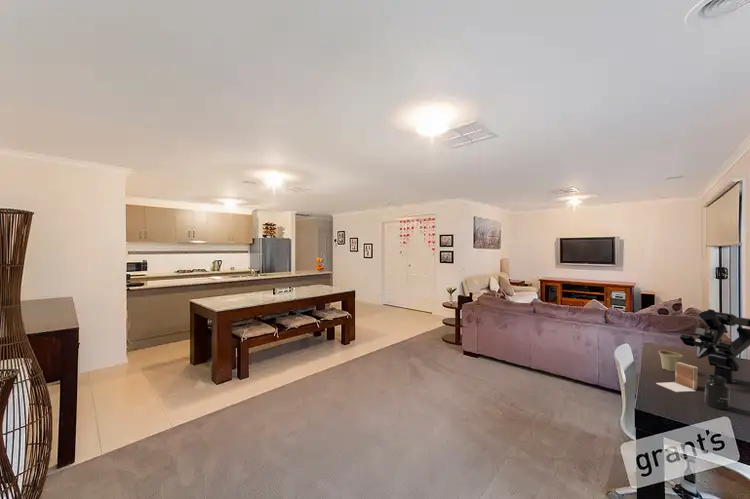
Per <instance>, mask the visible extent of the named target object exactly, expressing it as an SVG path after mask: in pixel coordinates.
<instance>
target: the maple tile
mask: <svg viewBox="0 0 750 499" xmlns="http://www.w3.org/2000/svg"><path fill="white" fill-rule="evenodd" d="M698 370H699V368H698V367H697V366H694V365H690V364H687V363H684V362H681V361H680V362H676V369H675V372H674V374H675V375H674V379H675V380H674V382H675V383H678V384H680V385H683V386H685V387H688V388H690V389H693V390H697V389H698V373H699V372H698Z"/></svg>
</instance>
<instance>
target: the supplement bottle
mask: <svg viewBox="0 0 750 499" xmlns="http://www.w3.org/2000/svg"><path fill="white" fill-rule="evenodd" d="M727 384H728V383H727V382H726V378H724V377H721V376H717V375H714V374H709V375H708V380H707V381H705V383H704V404H706V405H707V406H709V407H711V408H714V409H717V410H722V411H727V410H729V409H730V394H731V393H730V391H731V388H730V387H729V386H728V385H727Z"/></svg>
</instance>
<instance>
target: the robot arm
mask: <svg viewBox="0 0 750 499" xmlns="http://www.w3.org/2000/svg"><path fill="white" fill-rule="evenodd" d="M698 316H699V318H700V320H701V321H702V323H703V325H705V326H706V327H707V328H706V329H705V328H701V327H695V330H694V333H693V334H694V335H696V337H697V338H694V336H693V335H690V334H685V333H682V334H681V335H680V336H679V339H680V340H681V341H682V343H683V344H684V345H685V346H688V347H696V357H697V359H699V360H700V359H702V358H705V357H707V358H708V363H709V366H713V367H714V370H713V371H714V373H713V375H717V376H721V377H724V378H726V382H727V383H726V384H734V383H735V384H736V383H737V384H738V382H737V381H736V380H734V372H739V369H740V365H739V364H738V363H737V361H736V357H738V356H739V355H740V354H741V353H742V352H744V351H745V350H746V349H747V348H749V347H750V318H746V317H737V315H735V314H733V313H725V312H720V311H716V310H715V309H708V310H704V311H702V312H700V313H699V314H698ZM736 325H738V326H737V328H736V331H737V334H738V337H736V339H735V340H733V341H732V342H731V343H728V342H722V341H723V339H722V337H723V336H724V334H728V333H729V332H728V329H727V326H728V327H733V326H736ZM746 327H748V328H746Z"/></svg>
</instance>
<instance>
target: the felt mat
mask: <svg viewBox="0 0 750 499" xmlns="http://www.w3.org/2000/svg"><path fill="white" fill-rule="evenodd" d="M655 384H656V385H658V386H659V387H660V386H661V387H663V388H665V389H668V390H669V391H673V392H675V393H691V392H693V393H694V392H697V391H696V390H697V389H695V390H693V389H690V388H688V387H685V386H683V385H680V384H678V383H675V381H671V382H669V381H668V382H655Z"/></svg>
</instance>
